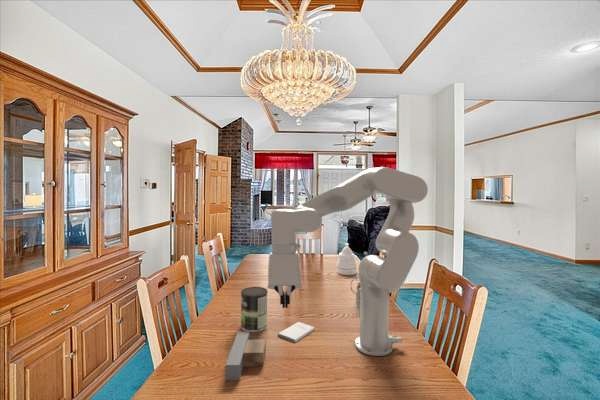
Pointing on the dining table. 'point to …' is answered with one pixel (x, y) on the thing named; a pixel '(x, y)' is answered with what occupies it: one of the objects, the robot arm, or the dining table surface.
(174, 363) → the dining table surface
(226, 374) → the board
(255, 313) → the coffee can
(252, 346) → the walnut block
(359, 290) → the french press
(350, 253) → the honey pot
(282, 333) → the external hard drive
